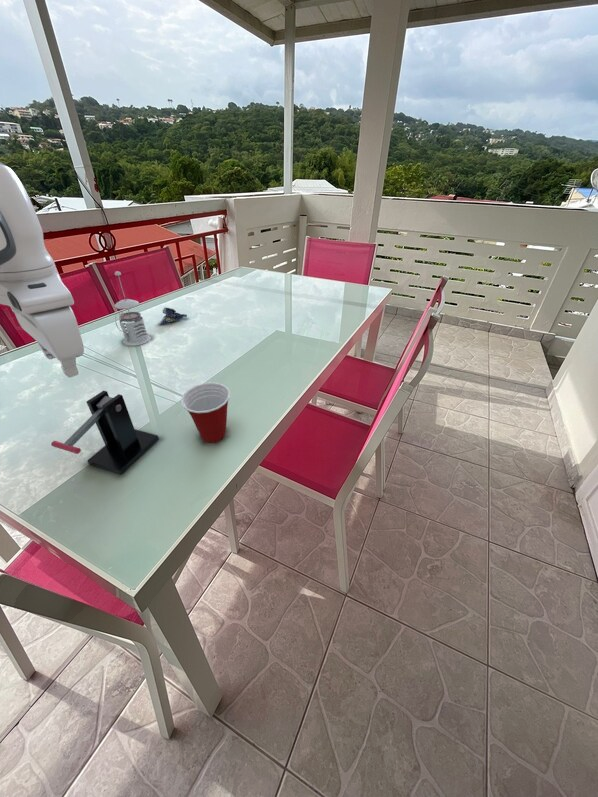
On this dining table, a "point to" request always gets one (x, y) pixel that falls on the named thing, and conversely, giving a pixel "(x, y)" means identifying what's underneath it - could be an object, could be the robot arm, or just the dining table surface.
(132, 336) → the french press
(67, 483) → the dining table surface
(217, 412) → the plastic cup
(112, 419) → the bracket
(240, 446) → the dining table surface
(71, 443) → the lever
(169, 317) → the snack package
